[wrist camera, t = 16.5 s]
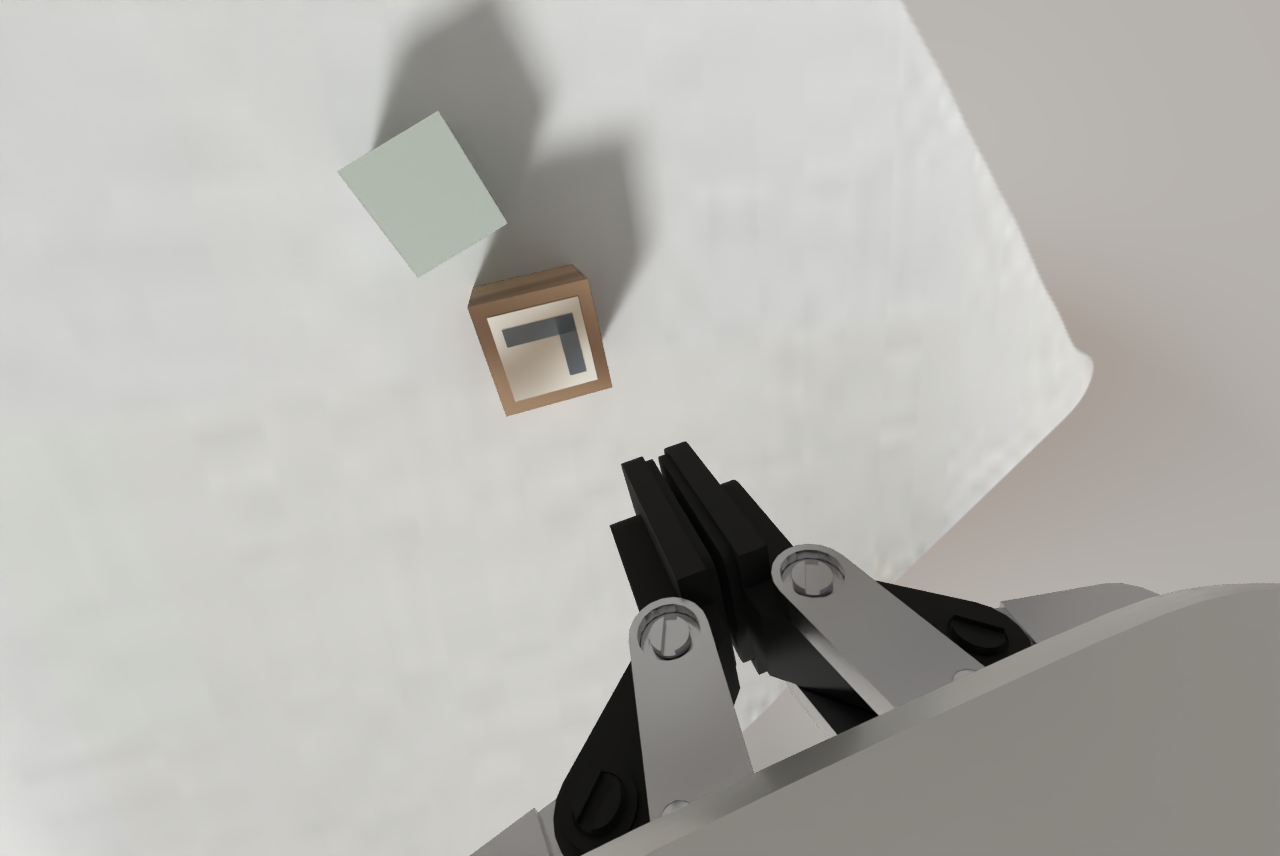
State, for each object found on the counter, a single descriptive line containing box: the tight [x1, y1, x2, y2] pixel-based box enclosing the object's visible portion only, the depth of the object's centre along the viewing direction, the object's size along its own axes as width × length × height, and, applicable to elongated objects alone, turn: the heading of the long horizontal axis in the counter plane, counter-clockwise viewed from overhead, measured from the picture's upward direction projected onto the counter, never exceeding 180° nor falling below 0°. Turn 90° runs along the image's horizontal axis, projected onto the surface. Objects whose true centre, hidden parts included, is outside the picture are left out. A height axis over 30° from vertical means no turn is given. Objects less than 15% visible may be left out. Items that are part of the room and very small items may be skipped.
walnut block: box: [468, 264, 612, 416], centre depth 27 cm, size 6×6×6 cm
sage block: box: [337, 111, 508, 277], centre depth 23 cm, size 5×5×5 cm
